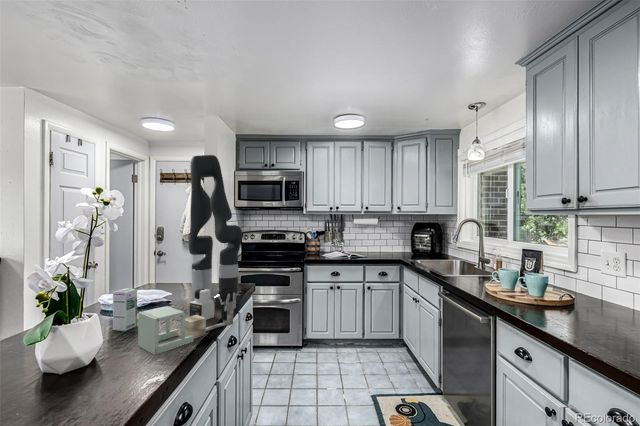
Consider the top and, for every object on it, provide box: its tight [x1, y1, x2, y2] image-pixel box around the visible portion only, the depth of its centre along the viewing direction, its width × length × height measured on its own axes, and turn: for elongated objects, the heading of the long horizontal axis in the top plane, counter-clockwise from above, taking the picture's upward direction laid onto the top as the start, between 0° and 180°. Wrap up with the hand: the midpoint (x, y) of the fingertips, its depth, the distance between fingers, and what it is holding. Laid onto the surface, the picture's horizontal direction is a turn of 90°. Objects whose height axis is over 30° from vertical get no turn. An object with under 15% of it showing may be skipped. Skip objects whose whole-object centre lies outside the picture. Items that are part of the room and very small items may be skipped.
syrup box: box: [112, 288, 138, 332], centre depth 122 cm, size 6×6×14 cm
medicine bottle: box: [189, 289, 215, 321], centre depth 135 cm, size 7×7×12 cm
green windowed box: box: [137, 305, 194, 356], centre depth 107 cm, size 13×11×11 cm
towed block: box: [185, 301, 234, 340], centre depth 121 cm, size 19×6×9 cm, turn 143°
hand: (228, 318), depth 127 cm, fingers closed on towed block, 3 cm apart
